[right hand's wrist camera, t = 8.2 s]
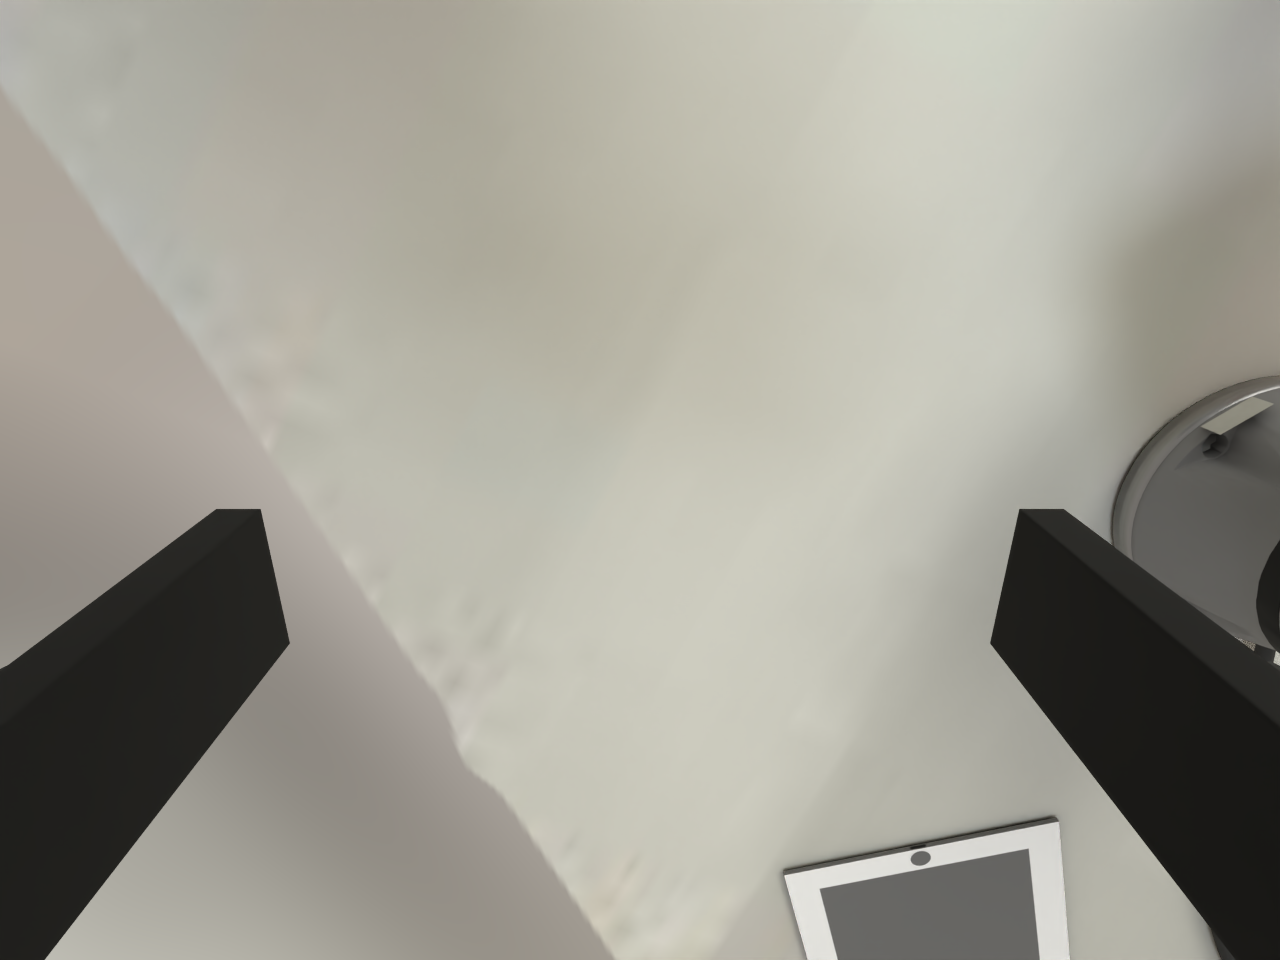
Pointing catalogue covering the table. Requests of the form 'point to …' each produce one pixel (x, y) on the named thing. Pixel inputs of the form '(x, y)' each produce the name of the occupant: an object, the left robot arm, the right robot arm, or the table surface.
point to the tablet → (939, 900)
